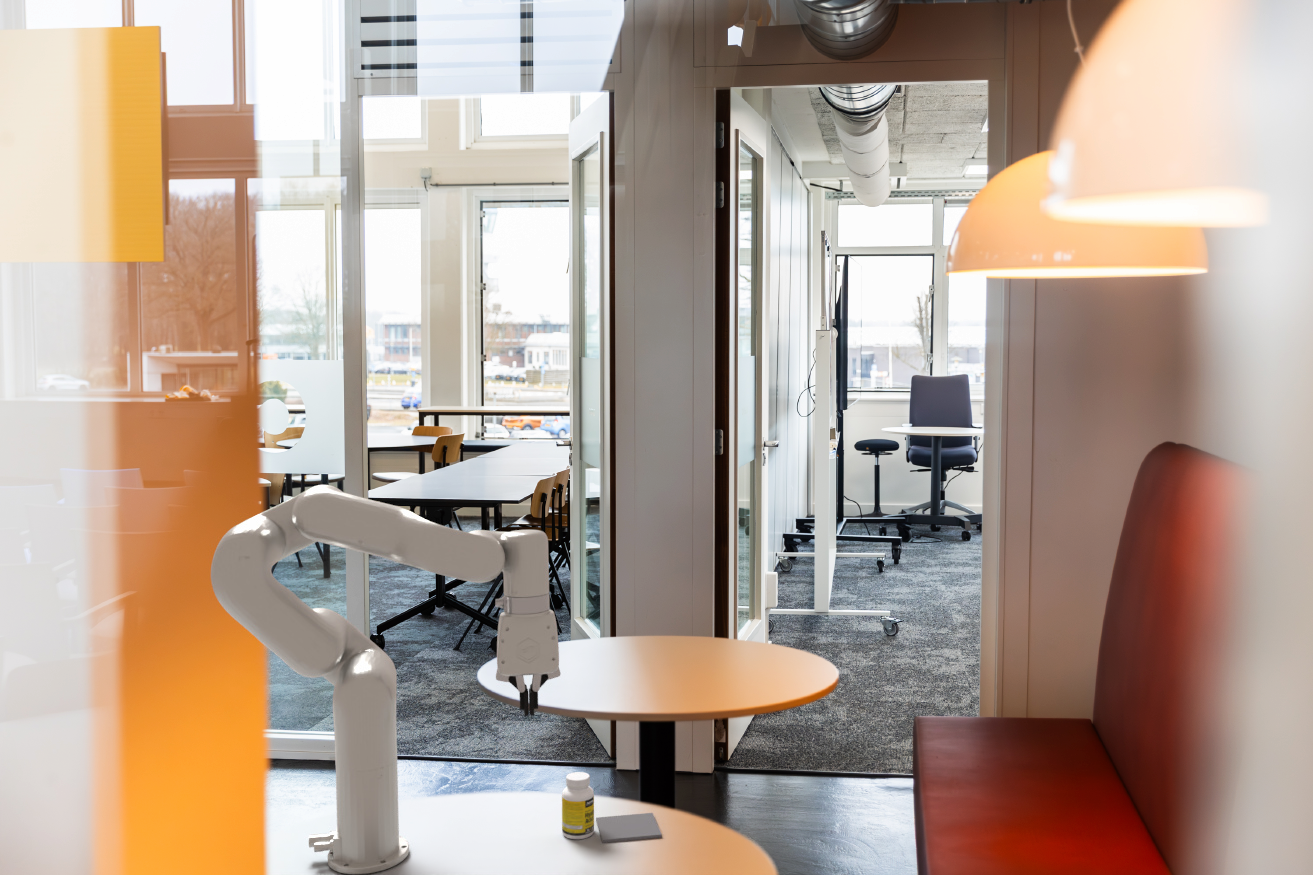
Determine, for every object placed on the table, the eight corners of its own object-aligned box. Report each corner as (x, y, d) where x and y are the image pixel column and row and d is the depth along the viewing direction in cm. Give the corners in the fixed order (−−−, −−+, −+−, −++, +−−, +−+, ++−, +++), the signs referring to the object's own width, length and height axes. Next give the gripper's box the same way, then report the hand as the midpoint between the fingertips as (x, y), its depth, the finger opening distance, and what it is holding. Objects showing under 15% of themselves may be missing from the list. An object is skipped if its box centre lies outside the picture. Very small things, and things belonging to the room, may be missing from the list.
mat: (602, 842, 158) (602, 839, 158) (596, 820, 167) (596, 817, 167) (661, 837, 160) (661, 834, 160) (652, 815, 169) (652, 812, 169)
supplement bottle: (589, 841, 159) (588, 782, 159) (558, 838, 160) (557, 780, 160) (598, 827, 164) (597, 770, 164) (567, 825, 166) (566, 769, 165)
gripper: (481, 611, 155) (483, 723, 156) (573, 606, 158) (575, 717, 158) (481, 602, 163) (483, 709, 163) (569, 598, 165) (571, 703, 166)
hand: (529, 713), depth 161 cm, fingers closed
